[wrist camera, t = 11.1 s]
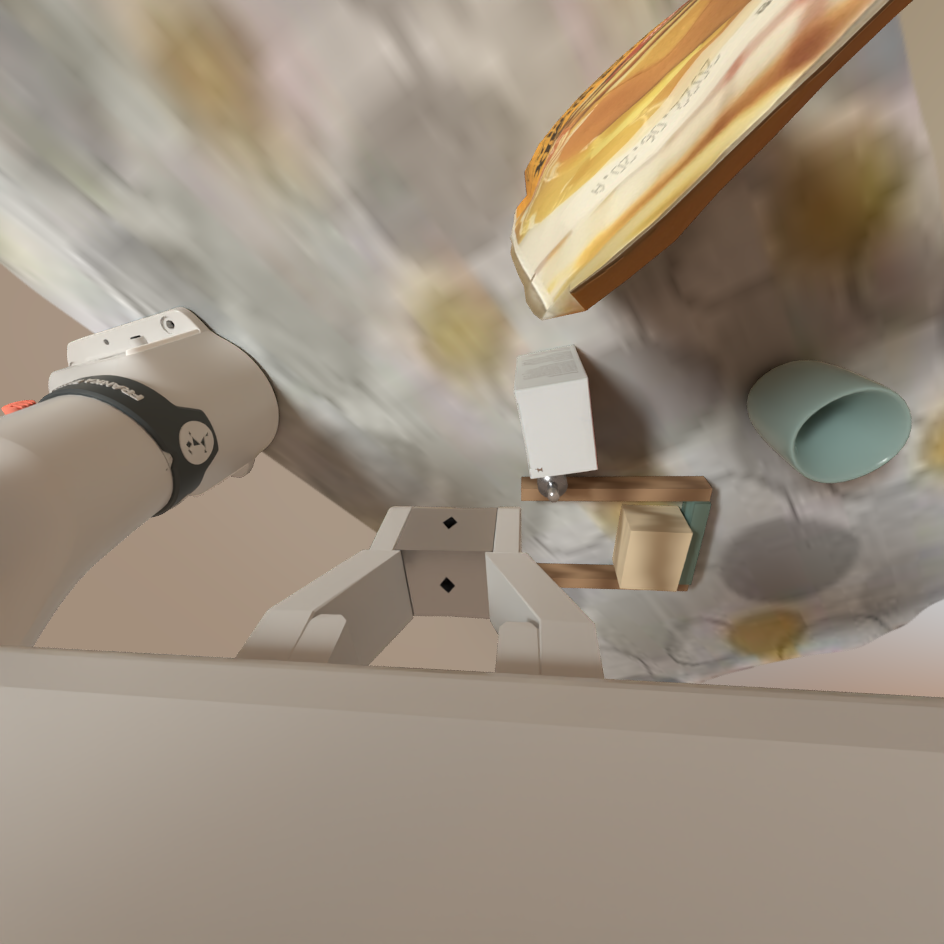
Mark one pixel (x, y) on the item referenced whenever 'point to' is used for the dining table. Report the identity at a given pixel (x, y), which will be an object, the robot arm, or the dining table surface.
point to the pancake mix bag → (671, 136)
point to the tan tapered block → (650, 547)
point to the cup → (828, 420)
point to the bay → (629, 489)
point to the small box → (555, 412)
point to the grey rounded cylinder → (552, 486)
